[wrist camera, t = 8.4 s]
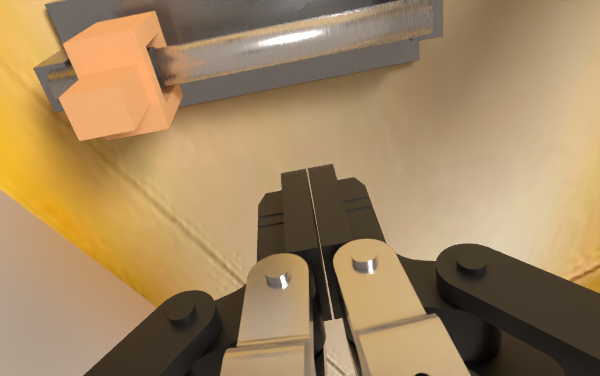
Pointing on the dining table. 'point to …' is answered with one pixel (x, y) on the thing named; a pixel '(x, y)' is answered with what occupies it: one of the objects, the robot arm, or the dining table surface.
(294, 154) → the dining table surface
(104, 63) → the collar
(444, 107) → the dining table surface
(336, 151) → the dining table surface
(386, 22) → the pipe stand
